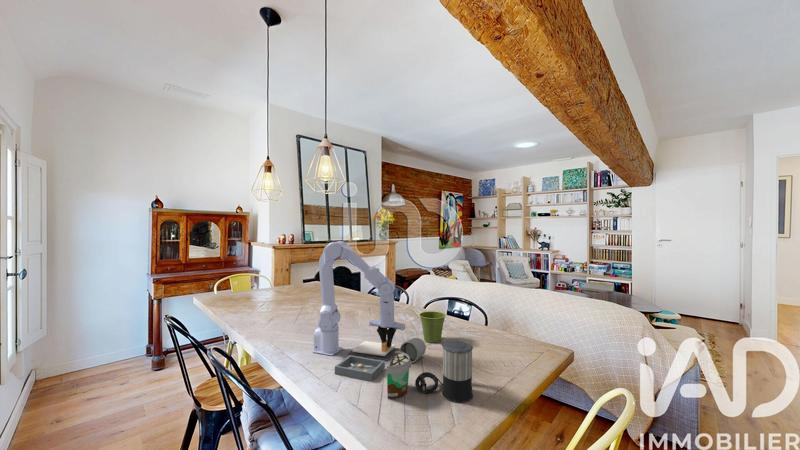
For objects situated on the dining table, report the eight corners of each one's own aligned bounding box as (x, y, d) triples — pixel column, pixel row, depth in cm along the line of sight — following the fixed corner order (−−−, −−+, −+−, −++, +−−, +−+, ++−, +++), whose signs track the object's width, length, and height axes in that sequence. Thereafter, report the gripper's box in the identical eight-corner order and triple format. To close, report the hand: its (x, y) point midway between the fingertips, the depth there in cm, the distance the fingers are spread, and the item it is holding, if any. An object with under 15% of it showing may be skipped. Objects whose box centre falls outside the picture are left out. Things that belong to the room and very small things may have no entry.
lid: (352, 353, 124) (352, 342, 124) (364, 343, 134) (364, 334, 134) (385, 357, 119) (384, 347, 119) (395, 347, 128) (394, 337, 128)
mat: (347, 354, 124) (347, 353, 124) (362, 343, 135) (362, 342, 135) (387, 361, 118) (387, 360, 118) (399, 349, 129) (399, 348, 129)
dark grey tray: (334, 374, 108) (334, 366, 108) (349, 362, 117) (349, 355, 117) (371, 381, 102) (371, 373, 102) (384, 368, 112) (384, 361, 112)
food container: (407, 404, 90) (407, 368, 90) (386, 401, 91) (386, 366, 91) (414, 382, 102) (414, 351, 102) (395, 380, 103) (395, 350, 103)
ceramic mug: (427, 357, 122) (426, 337, 122) (417, 365, 114) (417, 344, 114) (403, 352, 127) (402, 332, 127) (392, 359, 120) (392, 339, 120)
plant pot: (450, 338, 141) (450, 313, 141) (438, 347, 131) (438, 320, 131) (426, 333, 148) (426, 309, 148) (414, 341, 138) (414, 315, 138)
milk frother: (479, 400, 92) (479, 349, 92) (428, 409, 87) (428, 355, 87) (456, 377, 105) (456, 333, 105) (411, 384, 101) (411, 338, 101)
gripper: (365, 312, 123) (365, 347, 124) (400, 316, 118) (400, 352, 118) (373, 307, 130) (373, 340, 130) (406, 311, 125) (406, 346, 125)
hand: (386, 346), depth 125 cm, fingers closed on lid
